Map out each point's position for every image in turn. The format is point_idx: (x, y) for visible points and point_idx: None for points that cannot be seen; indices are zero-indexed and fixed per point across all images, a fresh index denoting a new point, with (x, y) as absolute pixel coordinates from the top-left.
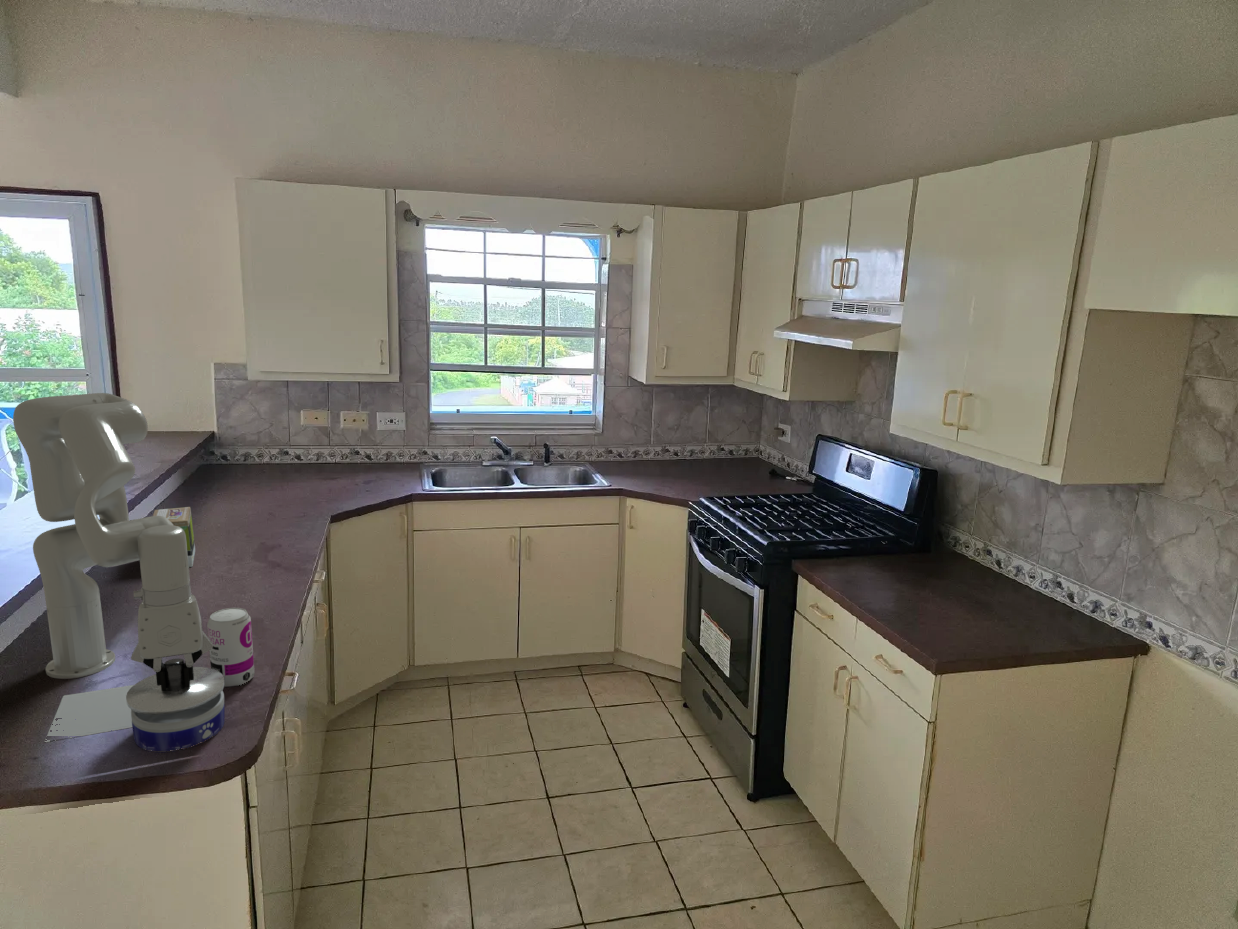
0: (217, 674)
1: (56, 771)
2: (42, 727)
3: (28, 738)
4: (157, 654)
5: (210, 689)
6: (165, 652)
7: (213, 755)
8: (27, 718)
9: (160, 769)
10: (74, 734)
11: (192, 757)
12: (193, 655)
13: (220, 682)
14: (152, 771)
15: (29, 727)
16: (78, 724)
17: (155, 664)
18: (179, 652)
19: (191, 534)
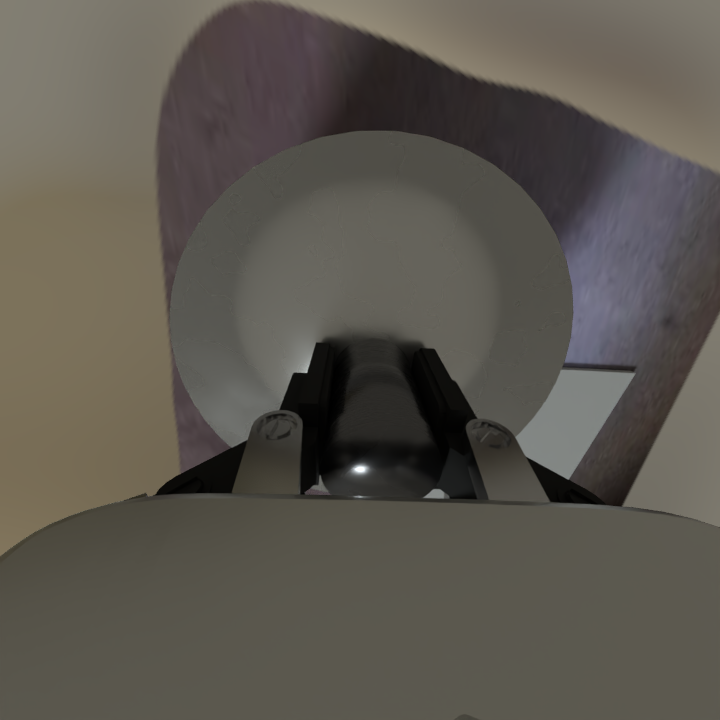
0: (216, 414)
1: (662, 230)
2: (607, 433)
3: (643, 405)
4: (618, 555)
5: (216, 286)
6: (517, 569)
7: (269, 100)
8: (615, 469)
9: (429, 82)
10: (576, 381)
11: (334, 122)
12: (231, 491)
13: (185, 342)
14: (453, 81)
15: (625, 441)
16: (557, 416)
17: (516, 465)
18: (316, 528)
19: None
